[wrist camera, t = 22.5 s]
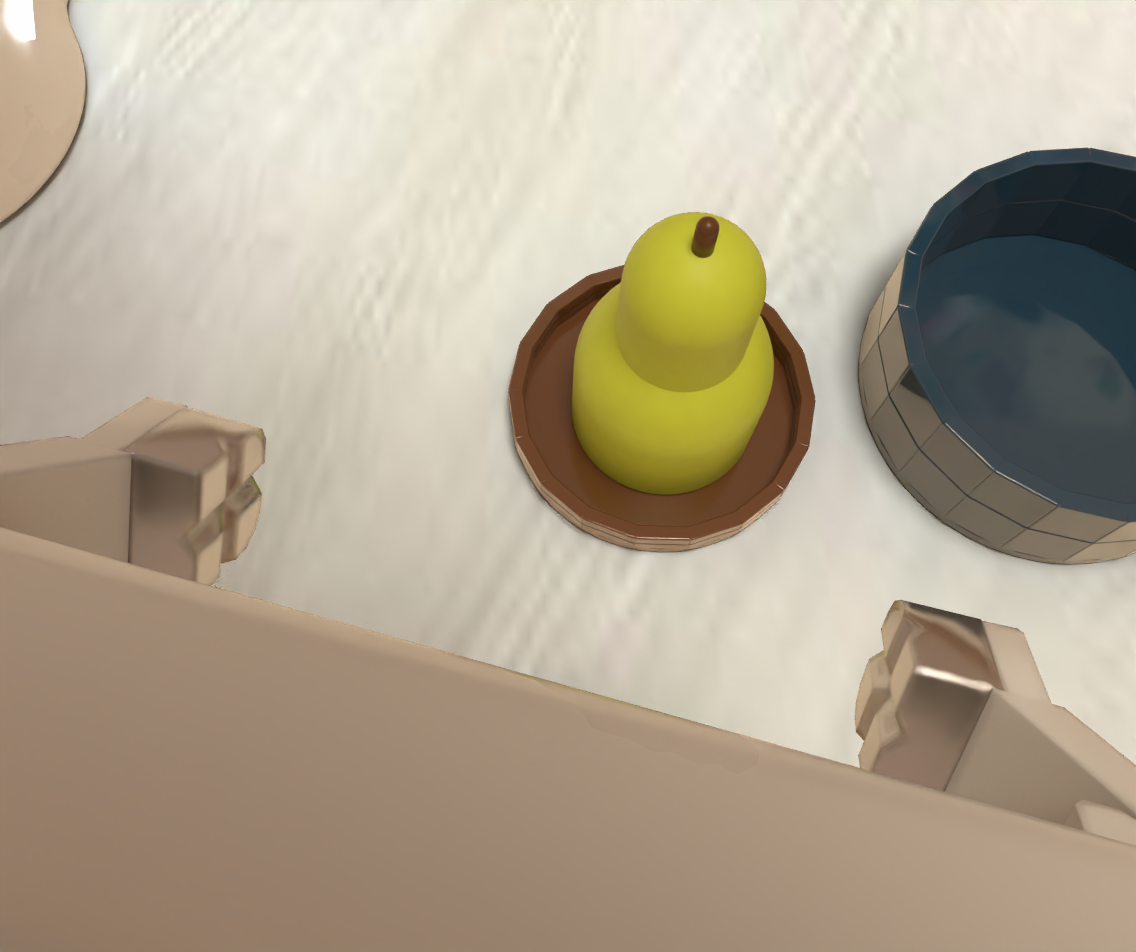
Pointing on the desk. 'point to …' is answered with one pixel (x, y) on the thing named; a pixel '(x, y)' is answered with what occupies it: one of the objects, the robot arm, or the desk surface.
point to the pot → (1016, 358)
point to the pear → (675, 358)
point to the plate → (622, 510)
